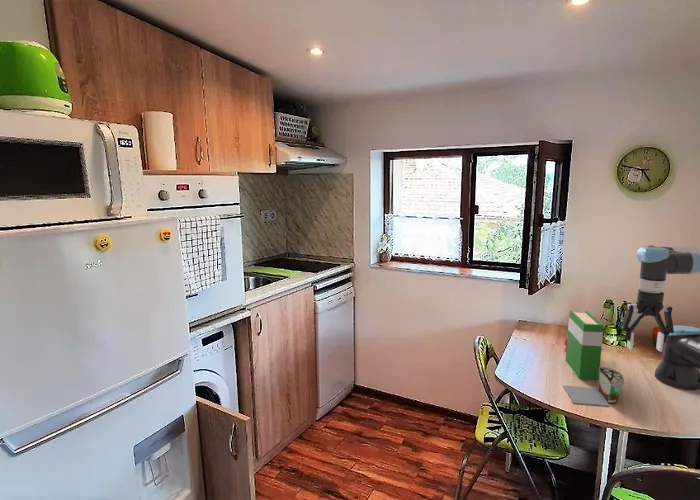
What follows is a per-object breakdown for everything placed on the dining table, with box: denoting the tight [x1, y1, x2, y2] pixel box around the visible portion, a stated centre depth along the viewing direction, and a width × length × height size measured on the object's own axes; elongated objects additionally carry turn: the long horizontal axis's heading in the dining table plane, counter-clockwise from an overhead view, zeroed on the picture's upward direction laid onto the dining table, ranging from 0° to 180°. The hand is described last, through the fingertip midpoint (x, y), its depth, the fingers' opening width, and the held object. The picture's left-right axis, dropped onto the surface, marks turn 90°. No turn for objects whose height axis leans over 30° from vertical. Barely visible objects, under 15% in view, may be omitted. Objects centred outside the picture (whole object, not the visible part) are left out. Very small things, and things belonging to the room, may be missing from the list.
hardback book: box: [565, 310, 605, 381], centre depth 177 cm, size 18×7×24 cm, turn 169°
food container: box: [597, 366, 625, 405], centre depth 155 cm, size 12×6×10 cm, turn 168°
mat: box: [562, 384, 610, 407], centre depth 158 cm, size 12×13×1 cm
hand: (644, 349), depth 151 cm, fingers open, 9 cm apart
